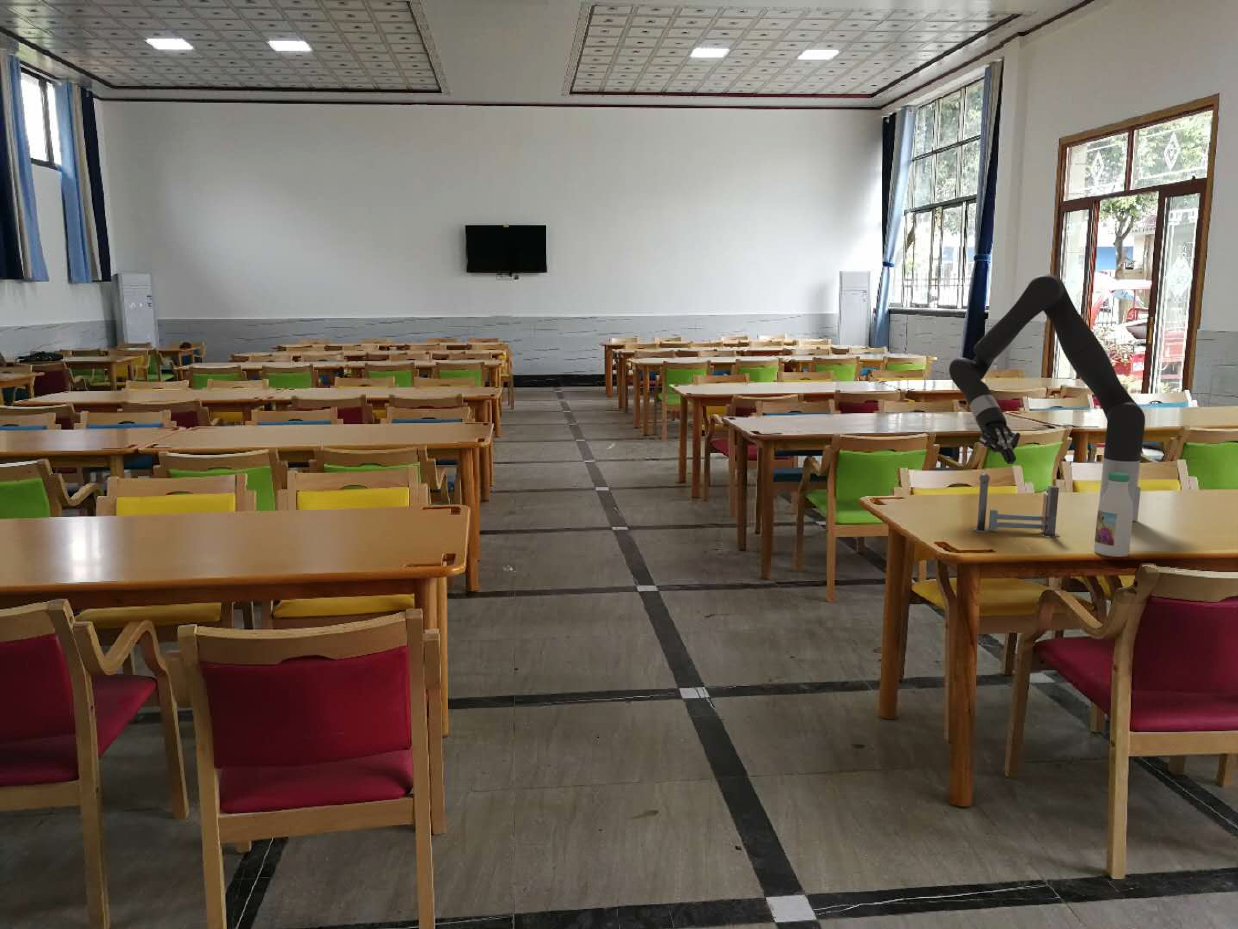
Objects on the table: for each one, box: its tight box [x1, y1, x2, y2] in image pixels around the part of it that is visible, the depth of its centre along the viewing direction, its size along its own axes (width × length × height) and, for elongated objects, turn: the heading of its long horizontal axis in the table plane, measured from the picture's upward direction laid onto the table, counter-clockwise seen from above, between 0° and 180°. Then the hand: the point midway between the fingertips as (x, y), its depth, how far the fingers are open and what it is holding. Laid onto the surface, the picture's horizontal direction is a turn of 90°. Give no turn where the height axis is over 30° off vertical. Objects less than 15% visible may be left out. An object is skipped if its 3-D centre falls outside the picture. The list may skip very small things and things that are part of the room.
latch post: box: [1038, 485, 1061, 538], centre depth 250 cm, size 4×4×13 cm
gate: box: [988, 492, 1048, 532], centre depth 253 cm, size 16×2×10 cm, turn 83°
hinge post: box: [972, 473, 991, 534], centre depth 254 cm, size 4×4×16 cm
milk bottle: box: [1093, 472, 1134, 558], centre depth 231 cm, size 8×8×20 cm
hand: (1012, 462), depth 267 cm, fingers closed
